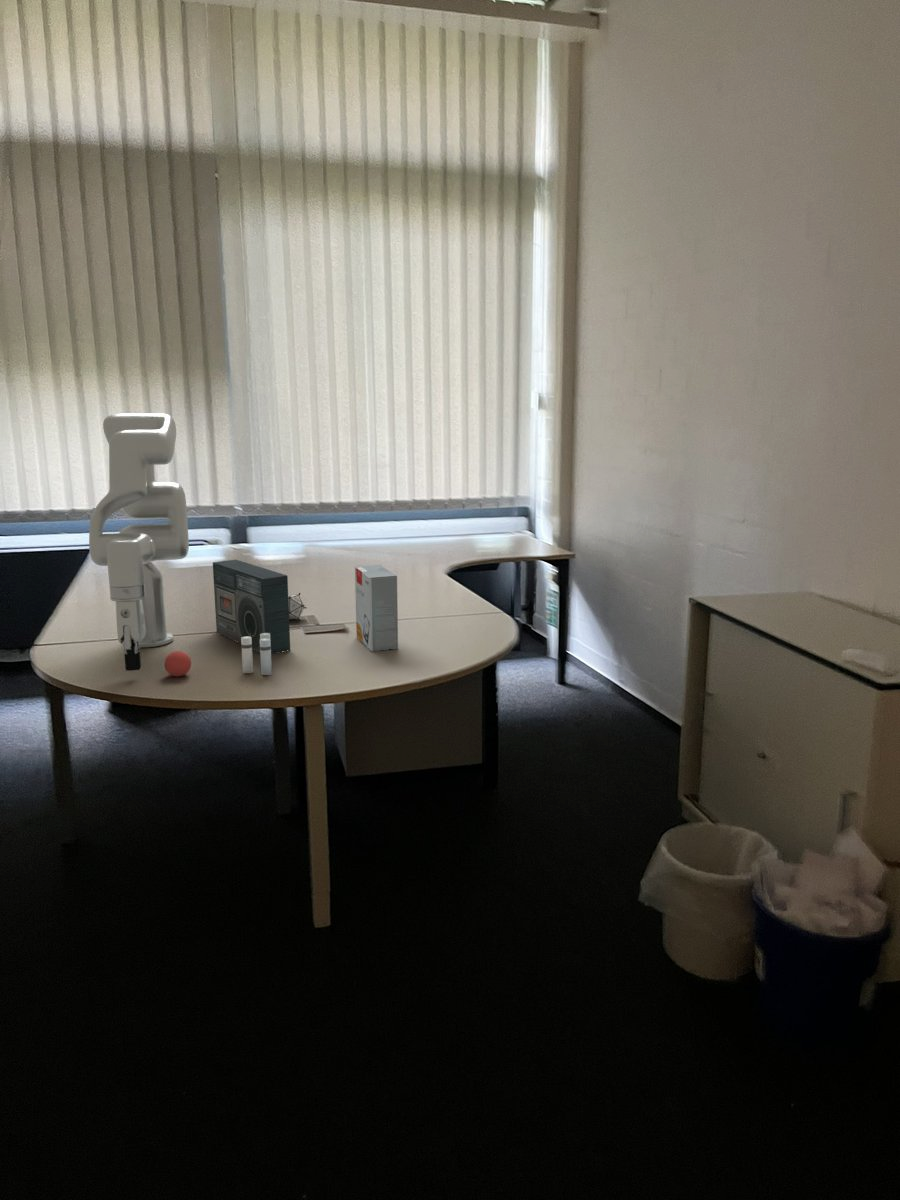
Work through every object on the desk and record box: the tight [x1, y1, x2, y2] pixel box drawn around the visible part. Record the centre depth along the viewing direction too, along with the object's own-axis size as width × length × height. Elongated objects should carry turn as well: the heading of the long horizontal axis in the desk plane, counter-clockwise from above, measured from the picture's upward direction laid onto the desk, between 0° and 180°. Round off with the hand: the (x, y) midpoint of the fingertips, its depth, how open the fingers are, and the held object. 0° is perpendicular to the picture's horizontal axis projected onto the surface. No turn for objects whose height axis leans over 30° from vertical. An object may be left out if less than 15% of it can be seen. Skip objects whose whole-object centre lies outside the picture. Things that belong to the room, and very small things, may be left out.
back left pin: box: [260, 633, 273, 669], centre depth 215 cm, size 2×2×8 cm
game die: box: [288, 592, 307, 622], centre depth 262 cm, size 9×8×10 cm
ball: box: [164, 650, 192, 677], centre depth 210 cm, size 6×6×6 cm
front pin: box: [240, 636, 254, 674], centre depth 212 cm, size 2×2×8 cm
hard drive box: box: [354, 564, 399, 652], centre depth 236 cm, size 16×8×20 cm, turn 21°
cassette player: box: [212, 559, 291, 655], centre depth 238 cm, size 29×7×20 cm, turn 39°
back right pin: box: [259, 638, 273, 676], centre depth 211 cm, size 2×2×8 cm
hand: (133, 669), depth 207 cm, fingers closed
